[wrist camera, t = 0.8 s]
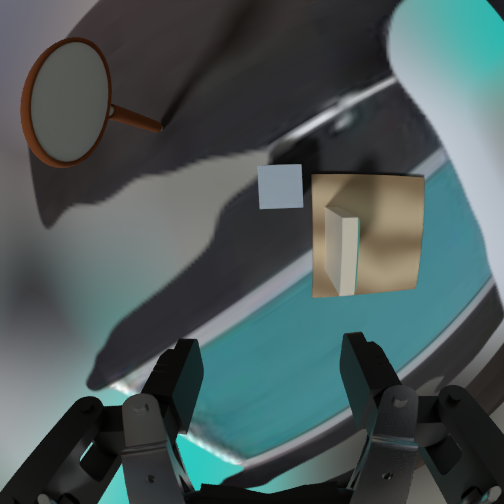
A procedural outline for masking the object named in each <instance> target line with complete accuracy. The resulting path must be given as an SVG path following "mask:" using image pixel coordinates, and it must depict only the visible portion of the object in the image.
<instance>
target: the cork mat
mask: <svg viewBox="0 0 504 504" xmlns="http://www.w3.org/2000/svg"><path fill="white" fill-rule="evenodd" d="M311 182H312V213H313V286H312V297H313V298H318V297H333V296H339V294H338V292H337V290H336V289H335V287H334V285H333V283H332V281H331V280H330V278H329V276H328V274H327V273H326V271H325V207H339V208H341V209H343V210H345V211H347V212H349V213H351V214H353V215H354V216H356V217H358V219H360V235H359V258H358V273H357V286H356V292H354V295H358V294H369V293H380V292H390V291H399V290H408V289H416V283H417V276H418V269H419V262H420V253H421V243H422V232H423V216H424V178H422V177H408V176H390V175H363V174H311Z"/></svg>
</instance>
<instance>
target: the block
mask: <svg viewBox="0 0 504 504" xmlns="http://www.w3.org/2000/svg"><path fill="white" fill-rule="evenodd" d="M257 168H258V185H259V202H260V209H271V208H296V207H303V189H302V167H301V164H289V165H264V166H257Z"/></svg>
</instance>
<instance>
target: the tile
mask: <svg viewBox="0 0 504 504" xmlns="http://www.w3.org/2000/svg"><path fill="white" fill-rule="evenodd" d="M359 235H360V219H358V217H356V216H354V215H353V214H351V213H349V212H347V211H345V210H343V209H341V208H339V207H325V271H326V273H327V274H328V276H329V278H330V280H331V281H332V283H333V285H334V287H335V289H336V290H337V292H338V294H339V296H347V295H354V292H356V286H357V273H358V258H359Z"/></svg>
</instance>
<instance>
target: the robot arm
mask: <svg viewBox="0 0 504 504" xmlns="http://www.w3.org/2000/svg"><path fill="white" fill-rule="evenodd" d="M340 374H341V377H342V380H343V384H344V387H345V390H346V393H347V397H348V400H349V403H350V407H351V410H352V413H353V417H354V420H355V424H356V427H357V430H360V429H365V428H366V430H367V433H368V434H367V437H366V439H365V442H364V445H363V448H362V451H361V454H360V457H359V460H358V463H357V465H356V468H355V471H354V473H353V475H352V478H351V480H350V482H349V484H348V486H347V488H346V489H345V488H338V486H337V481H333V482H326V483H318V484H310V485H302V486H299V487H295V488H292V489H288V490H284V491H280V492H276V493H271V494H266V493H261V492H256V491H251V490H247V489H243V488H239V487H235V486H223V485H212V484H203V483H202V484H201V489H200V490H199V491H195V490H194V487H193V485H192V483H191V482H190V479H189V477H188V474H187V472H186V469H185V466H184V463H183V461H182V457H181V455H180V452H179V448H178V445H177V443H176V438H177V435H178V433H179V434H187V432H188V429H189V425H190V422H191V418H192V415H193V412H194V408H195V405H196V401H197V398H198V394H199V391H200V387H201V384H202V381H203V375H204V368H203V363H202V358H201V353H200V348H199V344H198V340H197V339H182V338H180V339H179V340H178V342H177V344H176V346H175V348H174V349H168V350H167V351H165V352H164V353H163V354H162V355H160V357H159V359H158V361H157V363H156V365H155V367H154V368H153V371H152V372H151V374H150V376H149V378H148V380H147V382H146V384H145V385H144V387H143V389H142V391H141V393H140V394H135V395H133V396H131V397H129V398H128V399H127V400H125V402H124V403H123V405H121V406H103V404H102V402H101V401H100V400H99V399H98V398H96V397H93V396H87V397H83V398H80V399H79V400H77V401H76V402H75V403H74V404H73V405H72V406H71V407H70V409H69V410H68V411H67V412H66V413H65V414H64V416H63V417H62V418H61V419H60V420H59V421H58V422H57V424H56V425H55V426H54V427H53V428H52V430H51V431H50V432H49V433H48V434H47V435H46V436H45V438H44V439H43V440H42V441H41V442H40V444H39V445H38V446H37V447H36V449H35V450H34V451H33V452H32V453H31V455H30V456H29V457H28V458H27V459H26V460H25V462H24V463H23V464H22V465H21V467H20V468H19V469H18V470H17V472H16V473H15V474H14V476H13V477H12V478H11V479H10V481H9V482H8V483H7V484H6V486H5V487H4V488H3V490H2V491H1V492H0V504H97V503H98V502H99V500H100V499H101V497H102V495H103V494H104V492H105V490H106V489H107V487H108V485H109V484H110V482H111V480H112V479H113V477H114V475H115V474H116V472H117V470H118V469H119V467H120V465H121V464H122V466H123V472H124V478H125V484H126V488H127V494H128V499H129V504H406V501H407V498H408V494H409V490H410V486H411V482H412V478H413V473H414V468H415V463H416V457H417V451H418V452H419V453H420V455H421V457H422V459H423V460H424V462H425V464H426V466H427V467H428V469H429V471H430V473H431V474H432V476H433V478H434V480H435V482H436V484H437V485H438V487H439V489H440V491H441V492H442V495H443V496H444V498H445V500H446V502H447V504H504V434H503V433H502V432H501V430H500V429H499V428H498V427H497V426H496V424H495V423H494V422H493V421H492V419H491V418H490V417H489V416H488V415H487V413H486V412H485V411H484V410H483V409H482V408H481V406H480V405H479V404H478V403H477V402H476V401H475V400H474V398H473V397H472V396H471V395H470V394H469V393H468V392H467V391H466V390H465V389H464V388H462V387H460V386H457V385H449V386H446V387H444V388H443V389H442V390H441V391H440V393H439V395H438V396H418V395H417V393H416V392H415V391H414V390H413V389H412V388H410V387H407V386H403V385H402V384H401V382H400V380H399V378H398V376H397V374H396V373H395V371H394V369H393V367H392V365H391V364H390V363H389V360H388V358H387V357H386V355H385V353H384V351H383V349H382V348H381V347H380V346H379V345H377V344H376V343H375V342H373V341H372V342H367V341H366V339H365V337H364V335H363V333H362V332H353V333H345V334H344V335H343V341H342V349H341V356H340ZM450 434H451V435H452V437H453V438H454V439H453V438H452V437H451V435H450ZM454 440H455V441H456V442H455V441H454ZM91 442H92V443H93V444H92V446H91V447H90V449H89V450H88V451H87V453H86V454H85V456H84V457H83V458H82V460H81V461H80V458H81V456H82V455H83V453H84V452H85V450H86V449H87V448H88V446H89V445H90V443H91ZM456 443H457V444H458V445H459V447H460V448H459V447H458V445H457V444H456ZM460 449H461V450H460Z"/></svg>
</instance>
